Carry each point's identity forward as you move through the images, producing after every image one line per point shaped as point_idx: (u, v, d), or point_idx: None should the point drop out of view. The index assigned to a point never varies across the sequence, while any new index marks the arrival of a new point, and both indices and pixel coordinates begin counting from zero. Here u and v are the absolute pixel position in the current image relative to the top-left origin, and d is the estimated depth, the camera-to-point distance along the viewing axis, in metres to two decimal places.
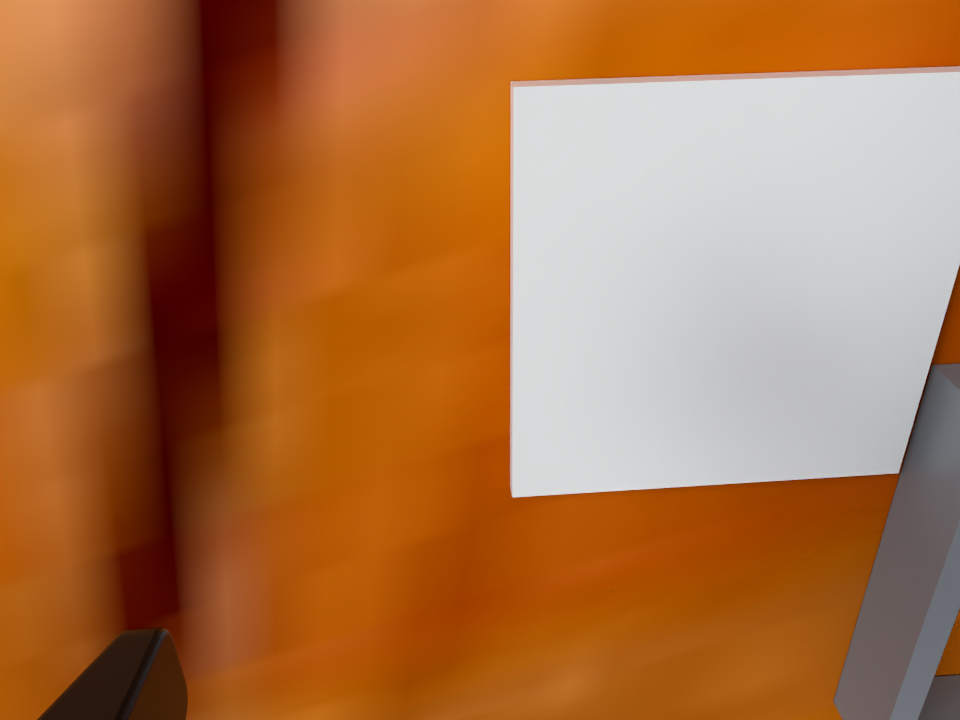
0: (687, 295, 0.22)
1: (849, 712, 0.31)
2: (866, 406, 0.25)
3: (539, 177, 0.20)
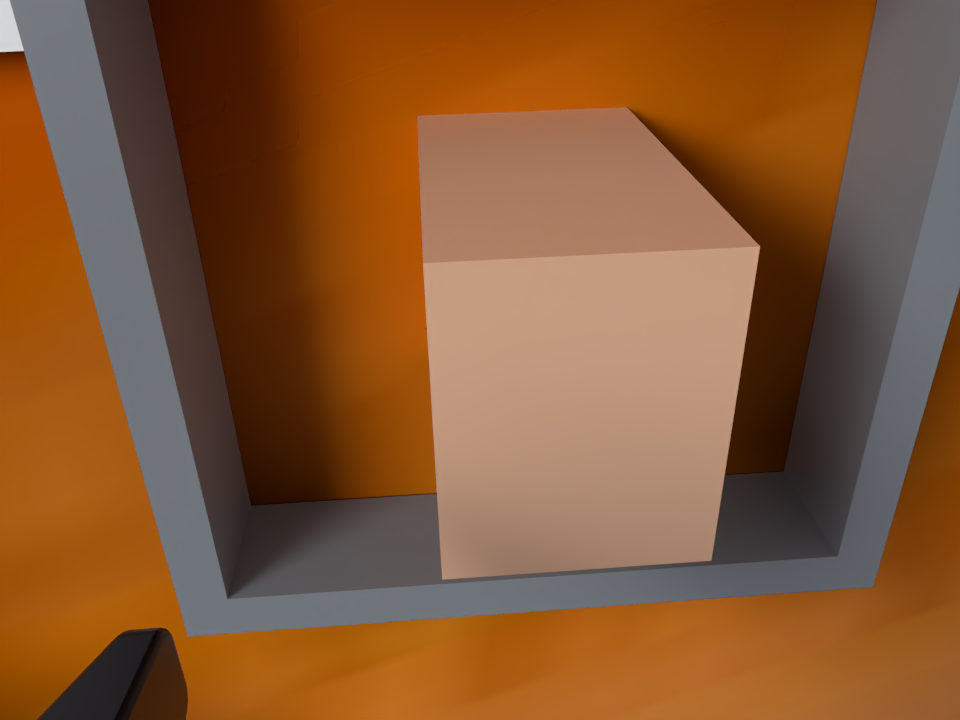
0: None
1: None
2: None
3: None
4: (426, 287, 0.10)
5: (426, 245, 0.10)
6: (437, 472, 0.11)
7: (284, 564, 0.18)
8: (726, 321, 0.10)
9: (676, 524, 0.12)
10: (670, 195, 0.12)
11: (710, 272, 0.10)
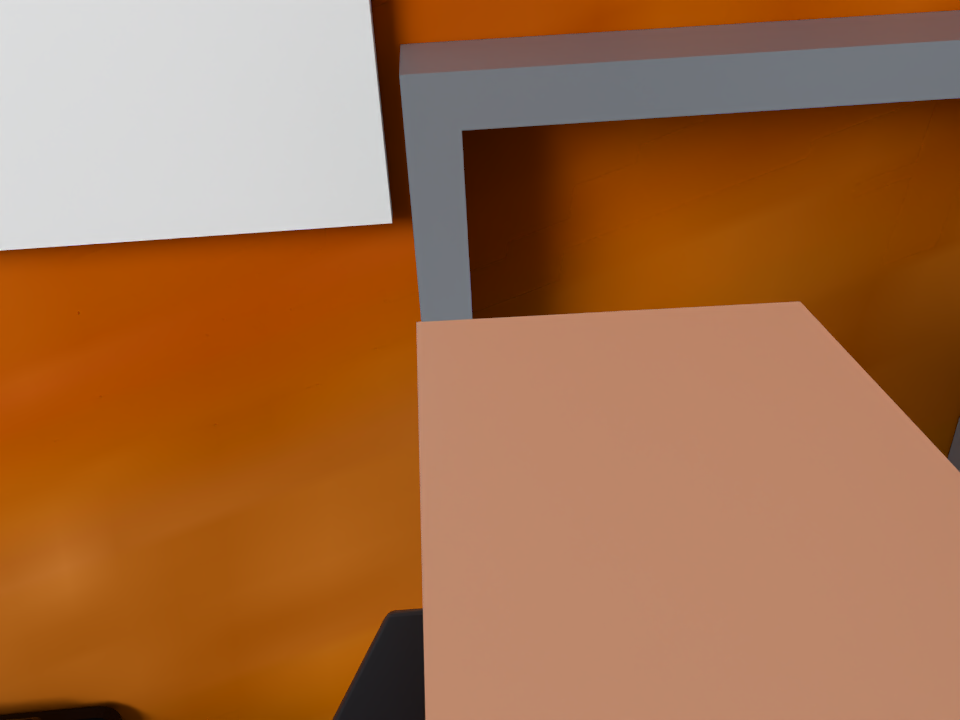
0: None
1: None
2: (298, 105, 0.17)
3: None
4: None
5: None
6: None
7: None
8: None
9: None
10: None
11: None
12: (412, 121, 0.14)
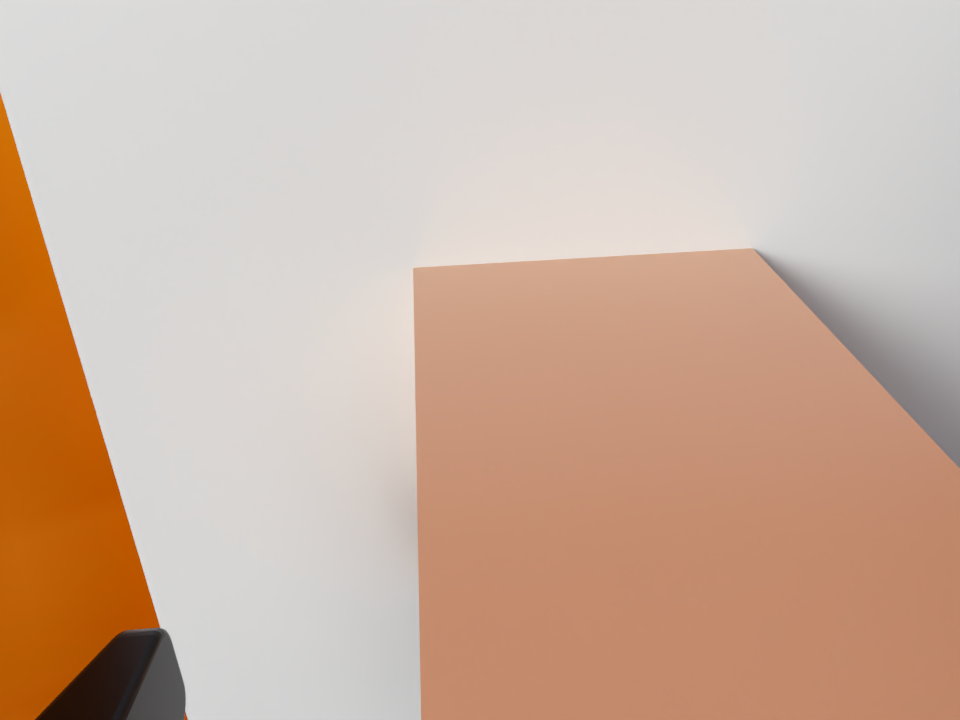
0: None
1: None
2: None
3: (86, 166, 0.09)
4: None
5: None
6: None
7: None
8: None
9: None
10: (949, 548, 0.05)
11: None
12: None
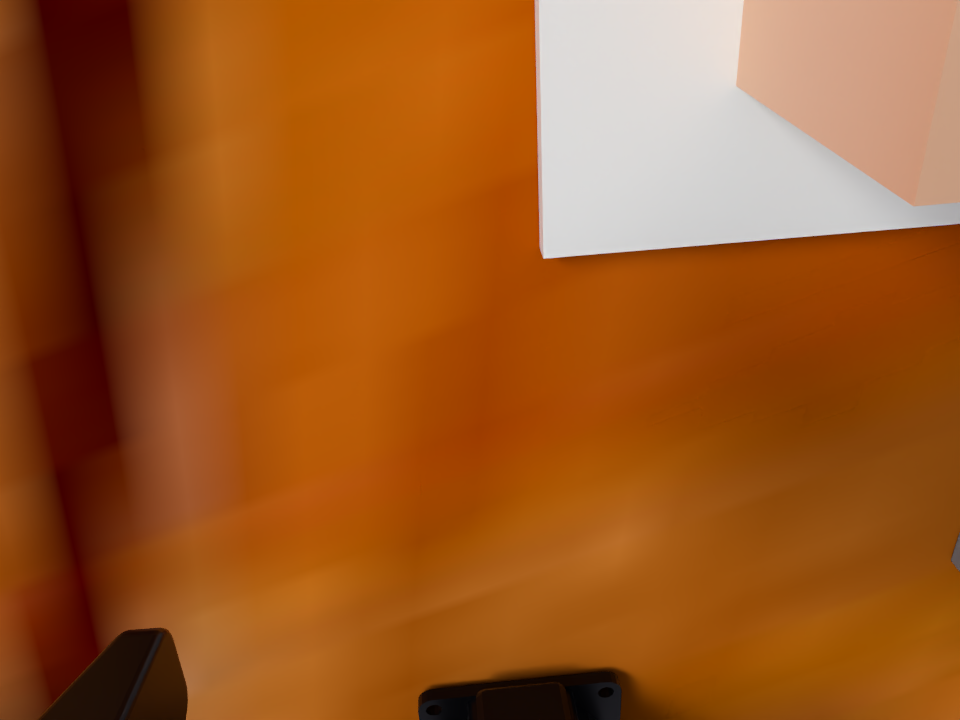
0: None
1: None
2: None
3: None
4: None
5: None
6: (946, 55, 0.10)
7: None
8: None
9: None
10: None
11: None
12: None
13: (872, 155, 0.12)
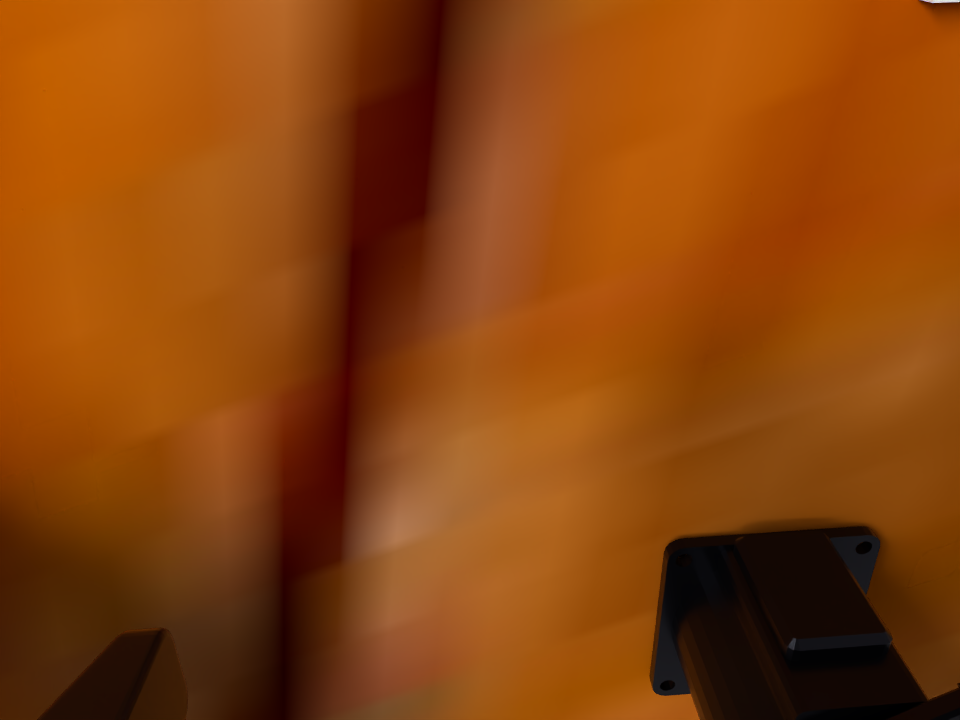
0: None
1: None
2: None
3: None
4: None
5: None
6: None
7: None
8: None
9: None
10: None
11: None
12: None
13: None
